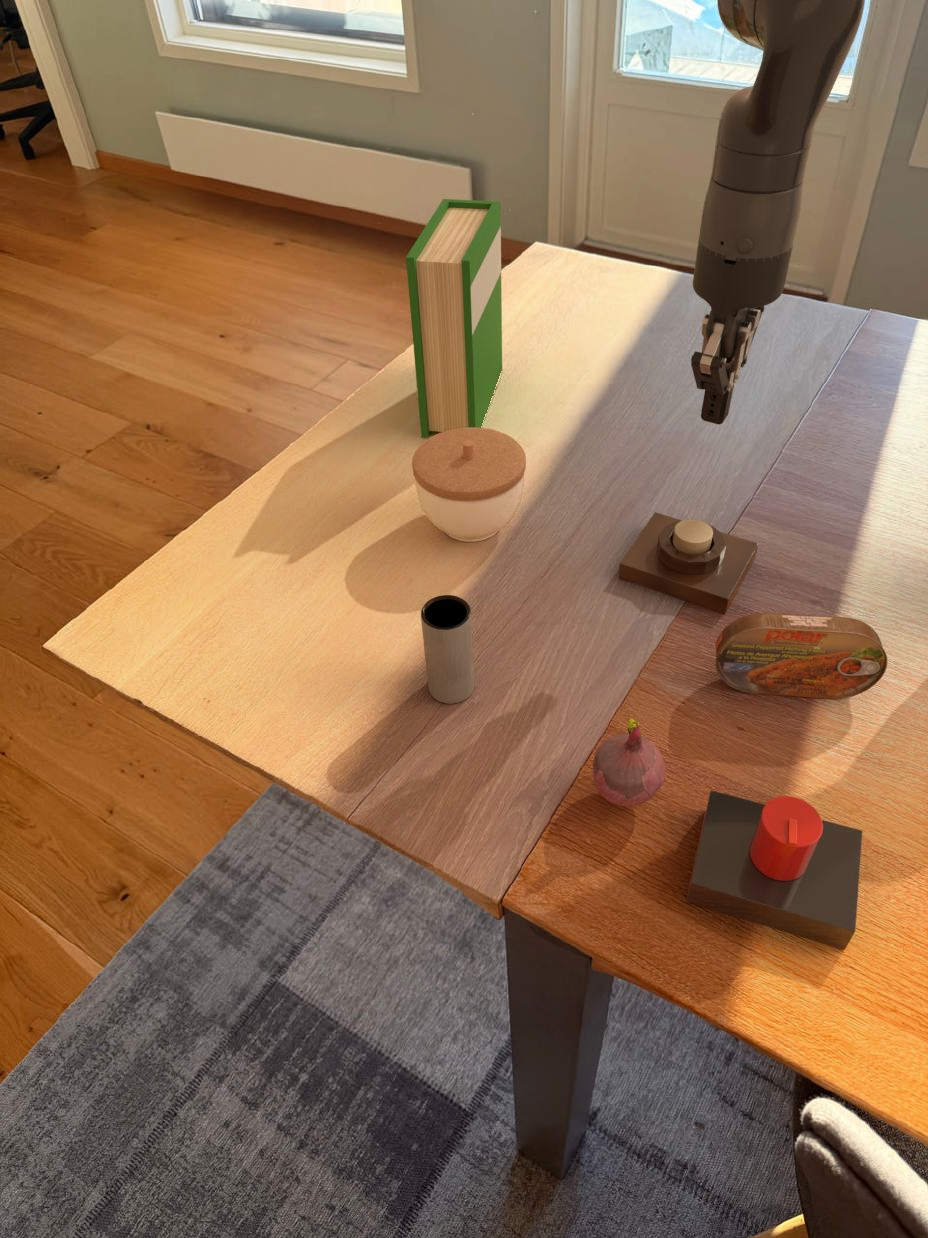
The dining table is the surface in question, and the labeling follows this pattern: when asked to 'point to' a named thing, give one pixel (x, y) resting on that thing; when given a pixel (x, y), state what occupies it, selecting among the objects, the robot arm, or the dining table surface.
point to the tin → (800, 655)
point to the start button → (692, 537)
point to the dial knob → (785, 838)
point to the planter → (448, 648)
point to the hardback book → (456, 313)
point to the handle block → (741, 890)
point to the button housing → (688, 565)
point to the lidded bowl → (469, 481)
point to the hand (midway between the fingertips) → (713, 418)
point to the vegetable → (628, 768)
